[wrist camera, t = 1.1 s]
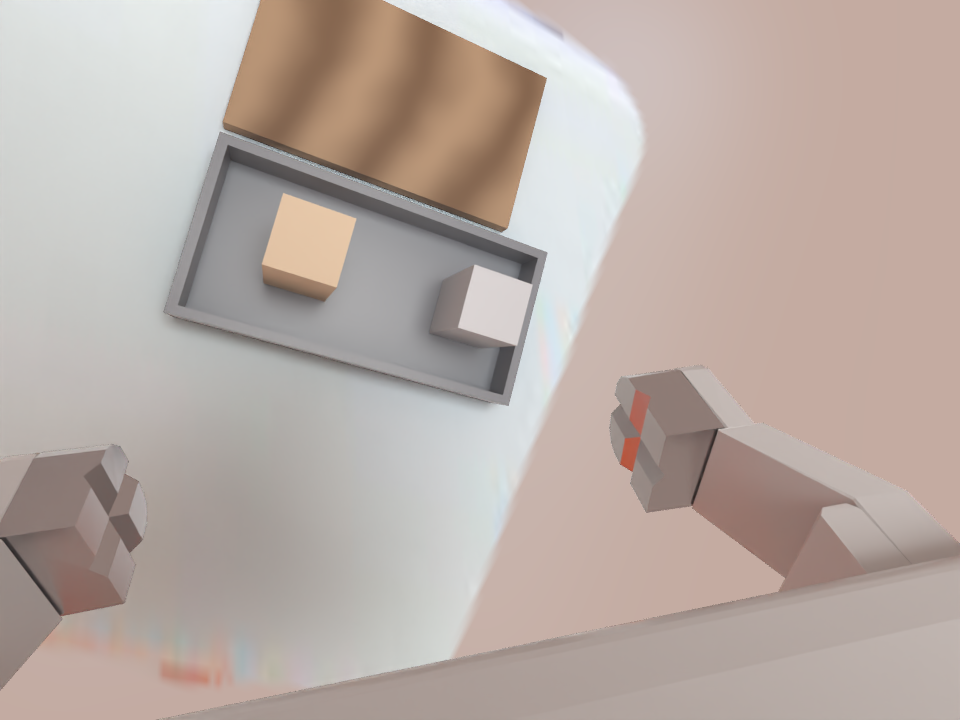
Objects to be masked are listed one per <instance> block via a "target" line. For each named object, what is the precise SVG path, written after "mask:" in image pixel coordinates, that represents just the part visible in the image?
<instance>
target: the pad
mask: <svg viewBox="0 0 960 720" xmlns="http://www.w3.org/2000/svg"><path fill="white" fill-rule="evenodd" d="M546 79H547V78H545V77H543V76H541V75H539V74H537V73H535V72H533V71H531V70H529V69H526V68H524V67H522V66H520V65H518V64H516V63H514V62H512V61H510V60H507V59H505V58H503V57H501V56H499V55H497V54H495V53H493V52H491V51H489V50H486V49H484V48H482V47H480V46H478V45H476V44H474V43H472V42H470V41H467V40H465V39H463V38H461V37H459V36H457V35H455V34H453V33H451V32H448V31H446V30H444V29H442V28H440V27H438V26H436V25H434V24H432V23H429V22H427V21H425V20H423V19H421V18H419V17H417V16H415V15H413V14H410V13H408V12H406V11H404V10H402V9H400V8H398V7H396V6H394V5H392V4H389V3H387V2H385V1H383V0H261V1H260V5H259V8H258V11H257V14H256V17H255V21H254V24H253V27H252V30H251V33H250V36H249V40H248V43H247V46H246V49H245V52H244V56H243V59H242V62H241V65H240V68H239V72H238V75H237V78H236V81H235V84H234V87H233V91H232V94H231V97H230V100H229V103H228V107H227V110H226V113H225V116H224V119H223V125H224V129H226V130H229V131H232V132H234V133H237V134H240V135H243V136H245V137H248V138H251V139H253V140H256V141H259V142H261V143H264V144H267V145H269V146H272V147H275V148H277V149H280V150H283V151H286V152H288V153H291V154H294V155H296V156H299V157H302V158H304V159H307V160H310V161H312V162H315V163H318V164H320V165H323V166H326V167H329V168H331V169H334V170H337V171H339V172H342V173H345V174H347V175H350V176H353V177H355V178H358V179H361V180H363V181H366V182H369V183H372V184H374V185H377V186H380V187H382V188H385V189H388V190H390V191H393V192H396V193H398V194H401V195H404V196H406V197H409V198H412V199H415V200H417V201H420V202H423V203H425V204H428V205H431V206H433V207H436V208H439V209H441V210H444V211H447V212H449V213H452V214H455V215H457V216H460V217H463V218H466V219H468V220H471V221H474V222H476V223H479V224H482V225H484V226H487V227H490V228H492V229H495V230H498V231H500V232H502V231H504V230H506V229H507V228H508V225H509V221H510V217H511V213H512V209H513V205H514V202H515V198H516V194H517V190H518V186H519V183H520V179H521V175H522V171H523V167H524V163H525V160H526V156H527V152H528V148H529V144H530V141H531V137H532V133H533V129H534V125H535V121H536V118H537V114H538V110H539V106H540V102H541V99H542V95H543V91H544V87H545V83H546Z"/></svg>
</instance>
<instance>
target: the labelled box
mask: <svg viewBox="0 0 960 720" xmlns="http://www.w3.org/2000/svg"><path fill="white" fill-rule="evenodd" d="M355 222H356V218H353V217H351V216H348V215H345V214H342V213H339V212H336V211H333V210H331V209H328V208H325V207H322V206H319V205H316V204H313V203H311V202H308V201H305V200H302V199H299V198H296V197H293V196H291V195H288V194H285V193H283V195H282V198H281V202H280V205H279V208H278V212H277V215H276V218H275V222H274V225H273V228H272V232H271V235H270V238H269V242H268V245H267V248H266V252H265V255H264V258H263V262H262V272H263V282H264V284H267V285H271V286H274V287H277V288H281V289H284V290H287V291H291V292H294V293H297V294H301V295H304V296H307V297H311V298H314V299H317V300H321V301H324V302H325V300H326V299H327V298H328V297H329V296H330V295H331V294H332V292H333V291H334V290H335V289H336V288H337V285H338V281H339V278H340V274H341V271H342V268H343V264H344V261H345V257H346V254H347V250H348V247H349V243H350V240H351V236H352V233H353V229H354V226H355Z"/></svg>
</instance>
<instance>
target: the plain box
mask: <svg viewBox="0 0 960 720" xmlns="http://www.w3.org/2000/svg"><path fill="white" fill-rule="evenodd" d="M532 286H533V285H532V284H529V283H526V282H524V281H521V280H518V279H515V278H512V277H509V276H506V275H503V274H501V273H498V272H495V271H492V270H489V269H486V268H483V267H480V266H478V265H473V266H471V267H468V268H466V269H464V270H462V271H460V272H458V273H456V274H454V275H452V276H450V277H448V278H446V279H444V280H443V283H442V287H441V291H440V294H439V298H438V302H437V305H436V309H435V313H434V317H433V320H432V324H431V328H430V331H429V333H431V334H434V335H437V336H441V337H444V338H447V339H451V340H454V341H457V342H460V343H464V344H467V345H470V346H474V347H477V348H493V347H508V346H517V344H518V341H519V337H520V333H521V329H522V325H523V321H524V317H525V313H526V309H527V305H528V301H529V297H530V294H531V290H532Z"/></svg>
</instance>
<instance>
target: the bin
mask: <svg viewBox="0 0 960 720" xmlns="http://www.w3.org/2000/svg"><path fill="white" fill-rule="evenodd" d="M283 193H285V194H288V195H291V196H293V197H296V198H299V199H302V200H305V201H308V202H311V203H313V204H316V205H319V206H322V207H325V208H328V209H331V210H333V211H336V212H339V213H342V214H345V215H348V216H351V217H353V218H356V222H355V226H354V229H353V233H352V236H351V240H350V243H349V247H348V250H347V254H346V257H345V261H344V264H343V268H342V271H341V274H340V278H339V281H338V285H337V288H336V289H335V290H334V291H333V292H332V294H331V295H330V296H329V297H328V298H327V299H326V300H325V302H324V301H321V300H317V299H314V298H311V297H307V296H304V295H301V294H297V293H294V292H291V291H287V290H284V289H281V288H277V287H274V286H271V285H267V284H264V282H263V272H262V262H263V258H264V255H265V252H266V248H267V245H268V242H269V238H270V235H271V232H272V228H273V225H274V222H275V218H276V215H277V212H278V208H279V205H280V202H281V198H282V195H283ZM546 256H547V252H544V251H542V250H539V249H536V248H534V247H531V246H528V245H526V244H523V243H520V242H517V241H515V240H512V239H509V238H507V237H504V236H501V235H499V234H496V233H493V232H490V231H488V230H485V229H482V228H480V227H477V226H474V225H471V224H469V223H466V222H463V221H461V220H458V219H455V218H453V217H450V216H447V215H444V214H442V213H439V212H436V211H434V210H431V209H428V208H426V207H423V206H420V205H417V204H415V203H412V202H409V201H407V200H404V199H401V198H399V197H396V196H393V195H390V194H388V193H385V192H382V191H380V190H377V189H374V188H371V187H369V186H366V185H363V184H361V183H358V182H355V181H353V180H350V179H347V178H344V177H342V176H339V175H336V174H334V173H331V172H328V171H326V170H323V169H320V168H317V167H315V166H312V165H309V164H307V163H304V162H301V161H299V160H296V159H293V158H290V157H288V156H285V155H282V154H280V153H277V152H274V151H271V150H269V149H266V148H263V147H261V146H258V145H255V144H253V143H250V142H247V141H244V140H242V139H239V138H236V137H234V136H231V135H228V134H226V133H223V132H220V133H219V136H218V140H217V143H216V146H215V149H214V152H213V155H212V159H211V162H210V165H209V168H208V171H207V175H206V178H205V181H204V184H203V187H202V191H201V194H200V197H199V200H198V203H197V207H196V210H195V213H194V216H193V219H192V222H191V226H190V229H189V232H188V235H187V238H186V242H185V245H184V248H183V251H182V254H181V258H180V261H179V264H178V267H177V270H176V274H175V277H174V280H173V283H172V286H171V289H170V293H169V296H168V299H167V302H166V305H165V309H164V312H165V313H167V314H169V315H171V316H173V317H177V318H181V319H184V320H188V321H192V322H195V323H199V324H203V325H206V326H210V327H214V328H218V329H221V330H225V331H229V332H232V333H236V334H240V335H243V336H247V337H251V338H254V339H258V340H262V341H266V342H269V343H273V344H277V345H280V346H284V347H288V348H291V349H295V350H299V351H302V352H306V353H310V354H314V355H317V356H321V357H325V358H328V359H332V360H336V361H339V362H343V363H347V364H350V365H354V366H358V367H362V368H365V369H369V370H373V371H376V372H380V373H384V374H387V375H391V376H395V377H398V378H402V379H406V380H409V381H413V382H417V383H421V384H424V385H428V386H432V387H435V388H439V389H443V390H446V391H450V392H454V393H457V394H461V395H465V396H469V397H472V398H476V399H480V400H483V401H487V402H491V403H496V404H502V405H507V406H509V402H510V398H511V394H512V390H513V386H514V382H515V378H516V374H517V370H518V366H519V363H520V359H521V355H522V351H523V347H524V343H525V339H526V335H527V331H528V327H529V323H530V319H531V315H532V311H533V307H534V304H535V300H536V296H537V292H538V288H539V284H540V280H541V276H542V272H543V268H544V264H545V260H546ZM473 265H478V266H480V267H483V268H486V269H489V270H492V271H495V272H498V273H501V274H503V275H506V276H509V277H512V278H515V279H518V280H521V281H524V282H526V283H529V284H532V285H533V286H532V290H531V294H530V297H529V301H528V305H527V309H526V313H525V317H524V321H523V325H522V329H521V333H520V337H519V341H518V344H517V346H508V347H493V348H477V347H474V346H470V345H467V344H464V343H460V342H457V341H454V340H451V339H447V338H444V337H441V336H437V335H434V334H431V333H429V331H430V328H431V324H432V320H433V317H434V313H435V309H436V305H437V302H438V298H439V294H440V291H441V287H442V283H443V280H444V279H446V278H448V277H450V276H452V275H454V274H456V273H458V272H460V271H462V270H464V269H466V268H468V267H471V266H473Z"/></svg>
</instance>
